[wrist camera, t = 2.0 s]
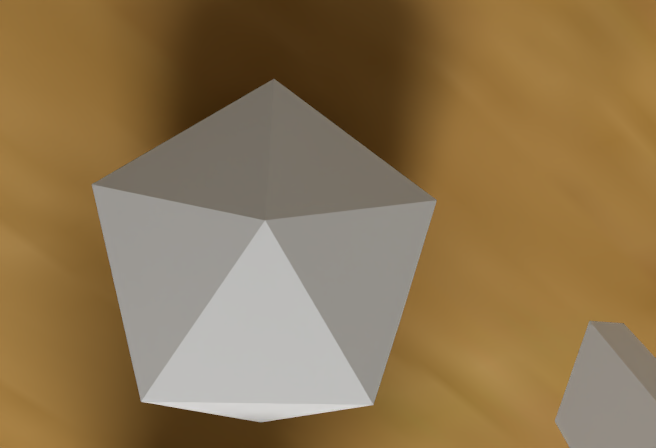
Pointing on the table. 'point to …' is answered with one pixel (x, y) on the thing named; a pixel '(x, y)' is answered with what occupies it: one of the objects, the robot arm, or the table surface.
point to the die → (261, 261)
